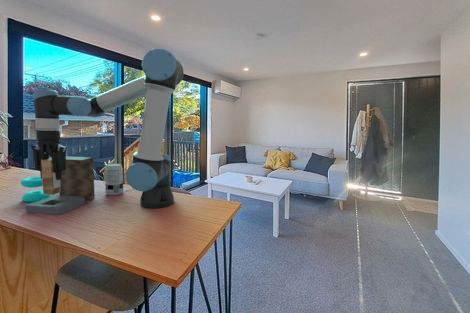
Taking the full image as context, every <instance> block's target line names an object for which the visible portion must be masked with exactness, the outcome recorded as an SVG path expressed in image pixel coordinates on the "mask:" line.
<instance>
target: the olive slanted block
mask: <svg viewBox="0 0 470 313" xmlns="http://www.w3.org/2000/svg"><path fill="white" fill-rule="evenodd" d="M48 159H51V156H49V158H48ZM94 174H95V172H94V157H91V156H87V157H86V156H76V155H75V156H72V155H71V156H68V155H66V170H63V171H61V177H62V178H61V179H60V184H61V187H60V189H61V192H60V193H59V195H61V196H77V197H84V201H85V200H88V201H93V200H94V199H95V197H96V196H95V175H94Z"/></svg>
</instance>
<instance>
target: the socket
mask: <svg viewBox="0 0 470 313" xmlns="http://www.w3.org/2000/svg"><path fill="white" fill-rule="evenodd" d="M84 204H85V200H84V197H77V196H61V195H60V194H54V195H50V197H48V198H45V199H42V200H39V201H36V202H30V203H28V204H25V213H27V214H28V213H29V214H39V215H40V214H43V215H52V216H53V215H56V216H60V215H62V214H64V213H67V212H69V211H70V210H74V209H75V208H77V207H80V206H82V205H84Z"/></svg>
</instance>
